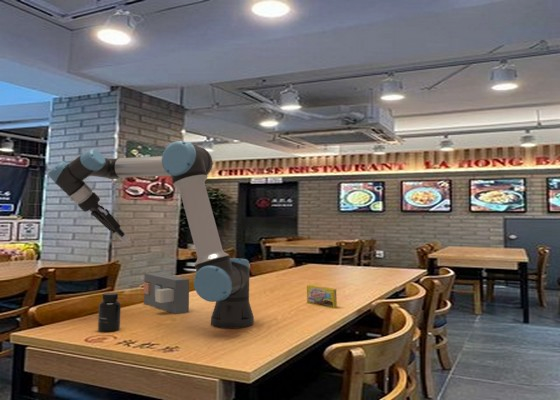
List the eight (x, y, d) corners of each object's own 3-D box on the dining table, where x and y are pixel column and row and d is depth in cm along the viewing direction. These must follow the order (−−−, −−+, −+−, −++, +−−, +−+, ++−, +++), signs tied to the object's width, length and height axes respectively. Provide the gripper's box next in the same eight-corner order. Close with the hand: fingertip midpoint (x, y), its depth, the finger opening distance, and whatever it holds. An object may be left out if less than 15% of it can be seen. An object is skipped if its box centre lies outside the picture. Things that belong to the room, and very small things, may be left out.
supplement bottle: (96, 333, 146) (97, 295, 147) (99, 328, 153) (100, 292, 153) (119, 331, 148) (120, 294, 149) (120, 327, 155) (121, 291, 155)
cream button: (160, 303, 174) (160, 290, 174) (155, 301, 177) (155, 289, 178) (179, 300, 179) (179, 289, 179) (173, 299, 183) (174, 287, 183)
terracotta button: (148, 294, 194) (148, 283, 194) (143, 293, 197) (143, 282, 197) (165, 292, 199) (165, 282, 199) (160, 291, 202) (160, 280, 203)
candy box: (306, 303, 201) (306, 284, 201) (309, 303, 202) (309, 284, 203) (333, 309, 189) (333, 289, 189) (337, 308, 190) (337, 288, 191)
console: (175, 314, 176) (175, 280, 177) (143, 303, 198) (144, 273, 199) (188, 312, 180) (189, 279, 181) (156, 301, 202) (157, 272, 203)
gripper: (72, 205, 173) (114, 247, 183) (83, 204, 163) (127, 249, 173) (87, 191, 177) (128, 234, 187) (98, 190, 167) (141, 235, 177)
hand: (127, 241), depth 180 cm, fingers closed
